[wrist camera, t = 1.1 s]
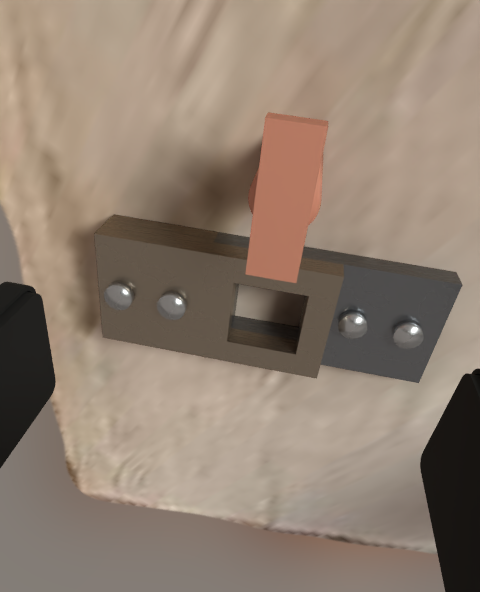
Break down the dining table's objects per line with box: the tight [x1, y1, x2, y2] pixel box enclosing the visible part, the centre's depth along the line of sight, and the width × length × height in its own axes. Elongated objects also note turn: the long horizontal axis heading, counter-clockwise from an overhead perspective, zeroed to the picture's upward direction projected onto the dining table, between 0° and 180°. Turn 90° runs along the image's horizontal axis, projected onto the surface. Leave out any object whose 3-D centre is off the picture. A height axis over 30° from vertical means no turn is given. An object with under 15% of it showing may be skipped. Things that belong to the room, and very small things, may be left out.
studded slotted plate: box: [94, 215, 462, 383], centre depth 29 cm, size 22×8×4 cm, turn 84°
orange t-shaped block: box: [245, 113, 328, 283], centre depth 22 cm, size 3×7×8 cm, turn 174°
